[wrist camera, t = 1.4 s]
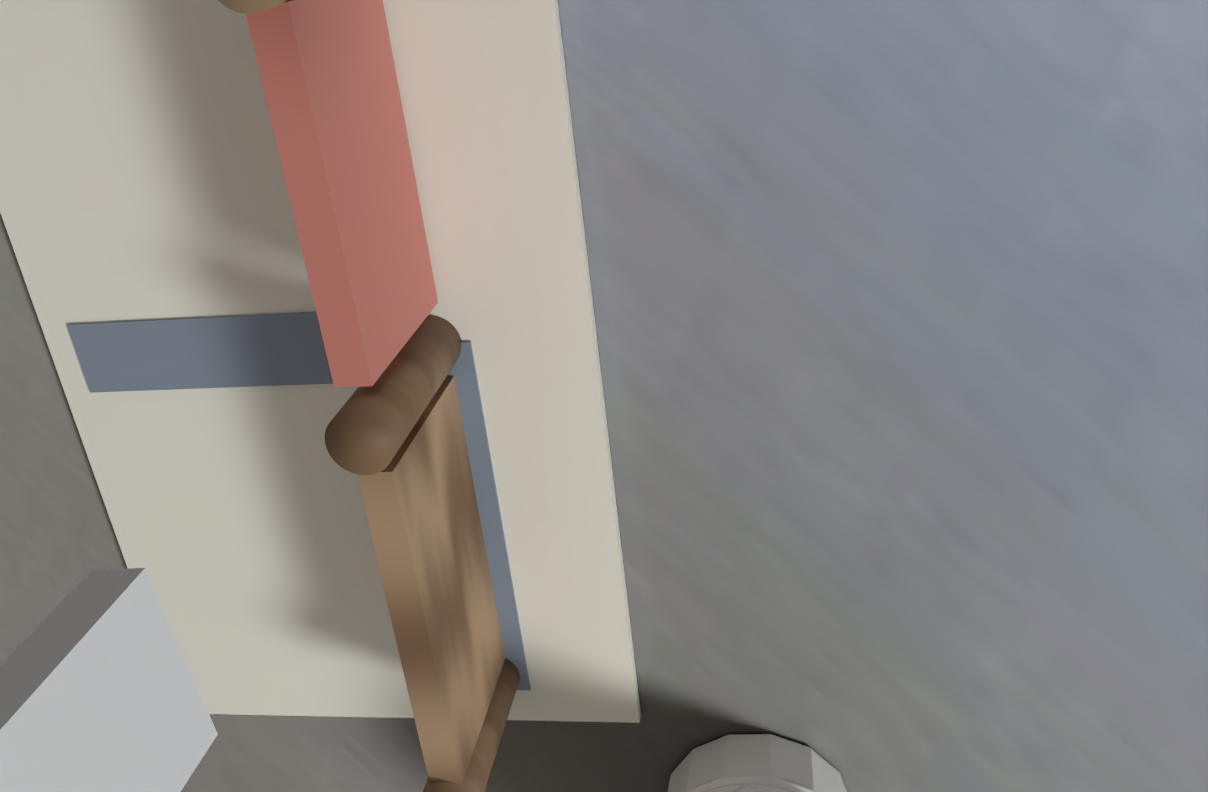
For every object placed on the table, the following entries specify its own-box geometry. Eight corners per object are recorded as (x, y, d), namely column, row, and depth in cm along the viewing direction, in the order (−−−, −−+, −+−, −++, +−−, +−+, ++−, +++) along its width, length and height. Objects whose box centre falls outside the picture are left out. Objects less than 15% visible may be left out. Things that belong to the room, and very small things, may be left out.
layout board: (-79, -36, 30) (-91, -35, 29) (544, -110, 27) (540, -110, 26) (184, 706, 41) (177, 715, 41) (641, 714, 38) (639, 724, 38)
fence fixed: (399, 316, 32) (317, 413, 26) (456, 313, 32) (386, 411, 26) (475, 692, 38) (422, 837, 32) (523, 692, 38) (478, 838, 32)
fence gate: (319, -79, 27) (193, -67, 21) (378, -86, 27) (267, -76, 21) (396, 304, 32) (310, 402, 26) (447, 302, 31) (372, 399, 25)
